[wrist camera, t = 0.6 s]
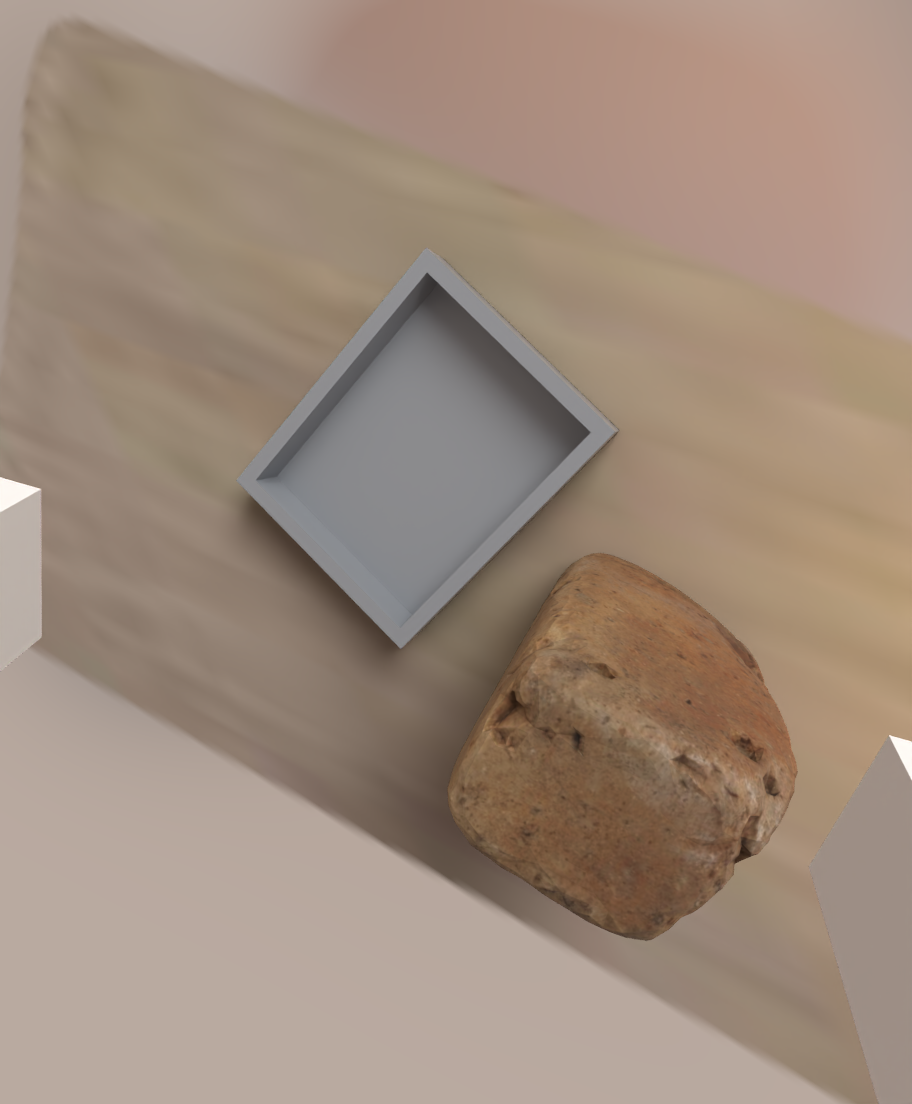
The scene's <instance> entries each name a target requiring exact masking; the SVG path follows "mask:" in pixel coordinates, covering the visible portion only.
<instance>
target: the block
mask: <svg viewBox="0 0 912 1104" xmlns="http://www.w3.org/2000/svg"><path fill="white" fill-rule="evenodd" d="M797 772H798V771H797V766H796V761H795V758H794V755H793V752H792V750H791V743H790V737H789V734H788V731H787V728H786V725H785V723H784V720H783V718H782V716H781V713H780V711H779V709H778V707H777V705H776V703H775V702H774V700H773V698H772V697H771V695H770V694H769V692H768V689H767V688H766V686H765V685H764V679H763V677H762V674H761V671H760V669H759V667H758V664H757V662H756V660H755V659H754V657H753V655H752V654H751V652H750V651H749V650H748V649H747V648H746V646H745V645H744V644H743V643H741V642H740V641H739V640H737V639H736V638H735V636H734V635H733V634H732V633H731V632H730V631H729V630H727V629H726V628H725V627H724V626H723V625H722V624H721V623H720V622H719V621H718V620H717V619H716V618H714V617H713V616H712V615H711V614H710V613H708V612H707V611H706V610H705V609H704V608H702V607H701V606H700V605H698V604H697V603H696V602H694V601H693V600H692V599H690V598H689V597H688V596H687V595H685V594H684V593H682V592H681V591H680V590H678V589H677V588H675V587H674V586H672V585H670V584H669V583H667V582H666V581H664V580H662V579H661V578H659V577H657V576H656V575H654V574H652V573H650V572H649V571H647V570H645V569H643V568H641V567H639V566H637V565H635V564H632V563H630V562H628V561H625V560H623V559H620V558H618V557H615V556H612V555H608V554H604V553H596V554H590V555H587V556H584V557H583V558H581V559H579V560H578V561H576V562H574V563H573V564H571V565H570V566H569V567H568V568H567V569H566V571H565V572H564V573H563V574H562V576H561V577H560V578H559V580H558V581H557V583H556V585H555V586H554V588H553V590H552V591H551V593H550V595H549V596H548V598H547V599H546V601H545V602H544V604H543V606H542V607H541V609H540V611H539V613H538V615H537V616H536V618H535V620H534V622H533V624H532V626H531V627H530V629H529V631H528V632H527V634H526V636H525V637H524V639H523V641H522V643H521V644H520V646H519V648H518V650H517V651H516V653H515V655H514V657H513V659H512V661H511V662H510V664H509V666H508V667H507V669H506V671H505V673H504V675H503V676H502V678H501V680H500V681H499V683H498V685H497V687H496V689H495V691H494V692H493V694H492V695H491V697H490V699H489V701H488V702H487V704H486V706H485V708H484V709H483V711H482V713H481V715H480V716H479V718H478V720H477V722H476V724H475V725H474V727H473V729H472V731H471V733H470V735H469V737H468V738H467V740H466V742H465V744H464V746H463V748H462V750H461V751H460V754H459V756H458V758H457V760H456V763H455V765H454V768H453V771H452V774H451V778H450V781H449V785H448V788H447V791H448V805H449V808H450V810H451V813H452V815H453V818H454V821H455V823H456V824H457V825H458V827H459V828H460V830H461V831H462V832H463V834H464V835H465V837H466V838H467V840H468V841H469V843H470V844H471V845H472V846H473V847H475V848H476V849H477V850H479V851H480V852H481V853H483V854H484V855H485V856H487V857H488V858H489V859H491V860H492V861H493V862H495V863H496V864H498V865H499V866H500V867H502V868H503V869H505V870H507V871H509V872H511V873H512V874H514V875H516V876H518V877H520V878H521V879H523V880H524V881H526V882H527V883H528V884H530V885H531V886H533V887H534V888H535V889H537V890H538V891H540V892H541V893H542V894H544V895H545V896H547V897H548V898H550V899H552V900H553V901H555V902H557V903H558V904H560V905H561V906H563V907H565V908H566V909H568V910H570V911H571V912H573V913H575V914H576V915H578V916H579V917H581V918H583V919H584V920H586V921H588V922H590V923H592V924H594V925H596V926H598V927H600V928H603V929H605V930H607V931H609V932H611V933H614V934H617V935H620V936H623V937H626V938H632V939H639V940H645V941H647V940H652V939H654V938H655V937H657V936H659V935H660V934H662V933H664V932H665V931H667V930H669V929H670V928H671V927H672V926H673V925H674V924H675V923H676V922H677V921H678V920H679V919H680V918H681V917H683V916H686V915H688V914H690V913H693V912H694V911H696V910H697V909H699V908H700V907H702V906H703V905H704V904H705V903H706V902H707V901H708V900H709V899H710V898H711V897H712V896H714V895H715V894H716V893H717V892H718V891H719V890H721V889H722V888H723V887H724V885H725V884H726V883H727V882H728V881H729V879H730V878H731V877H732V876H733V875H734V864H735V863H737V862H739V861H741V860H743V859H746V858H748V857H751V856H753V855H756V854H758V853H759V852H760V851H761V850H762V849H763V847H764V846H765V845H766V844H767V843H768V842H769V840H770V837H771V835H772V833H773V832H774V831H775V829H776V828H777V827H778V825H779V824H780V822H781V820H782V818H783V816H784V814H785V812H786V810H787V808H788V805H789V802H790V800H791V797H792V795H793V793H794V783H795V778H796V775H797Z"/></svg>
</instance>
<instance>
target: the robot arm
mask: <svg viewBox="0 0 912 1104" xmlns="http://www.w3.org/2000/svg"><path fill="white" fill-rule="evenodd" d="M41 637H42V595H41V489H38V488H35V487H32V486H28V485H25V484H21V483H18V482H14V481H11V480H7V479H4V478H0V671H1V670H2V669H4V668H5V667H6V666H7V665H9V664H10V663H11V662H12V661H13V660H15V659H16V658H17V657H18V656H19V655H21V654H22V653H23V652H24V651H25V650H26V649H28V648H29V647H30V646H31V645H33V644H34V643H35V642H36V641H38V640H39V639H40V638H41ZM809 869H810V872H811V876H812V879H813V883H814V886H815V889H816V893H817V896H818V900H819V903H820V906H821V910H822V913H823V917H824V920H825V923H826V927H827V930H828V934H829V937H830V940H831V944H832V947H833V951H834V954H835V958H836V961H837V964H838V968H839V971H840V975H841V978H842V981H843V985H844V988H845V992H846V995H847V998H848V1002H849V1005H850V1009H851V1012H852V1015H853V1019H854V1022H855V1026H856V1029H857V1032H858V1036H859V1039H860V1043H861V1046H862V1049H863V1053H864V1056H865V1060H866V1063H867V1067H868V1070H869V1073H870V1077H871V1080H872V1084H873V1087H874V1090H875V1094H876V1097H877V1101H878V1104H912V742H911V741H907V740H904V739H900V738H897V737H893V736H890V735H889V736H888V738H887V739H886V741H885V743H884V744H883V746H882V747H881V749H880V751H879V752H878V754H877V756H876V757H875V759H874V761H873V762H872V764H871V765H870V767H869V769H868V770H867V772H866V774H865V775H864V777H863V779H862V780H861V782H860V783H859V785H858V787H857V788H856V790H855V792H854V793H853V795H852V797H851V798H850V800H849V802H848V803H847V805H846V806H845V808H844V810H843V811H842V813H841V815H840V816H839V818H838V820H837V821H836V823H835V824H834V826H833V828H832V829H831V831H830V833H829V834H828V836H827V838H826V839H825V841H824V842H823V844H822V846H821V847H820V849H819V851H818V852H817V854H816V856H815V857H814V859H813V861H812V862H811V864H810V865H809Z"/></svg>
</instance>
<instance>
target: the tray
mask: <svg viewBox="0 0 912 1104" xmlns="http://www.w3.org/2000/svg"><path fill="white" fill-rule="evenodd" d="M618 431H619V429H618V428H617V427H616V426H615V425H614V424H613V423H611V422H610V421H609V420H608V419H607V418H606V417H605V416H604V415H603V414H602V413H601V412H600V411H599V410H598V409H597V408H596V407H595V406H594V405H593V404H592V403H591V402H590V401H589V400H588V399H587V398H586V397H585V396H584V395H583V394H582V393H581V392H580V391H579V390H578V389H577V388H576V387H575V386H574V385H572V384H571V383H570V382H569V381H568V380H567V379H566V378H565V377H564V376H563V375H562V374H561V373H560V372H559V371H558V370H557V369H556V368H555V367H554V366H553V365H552V364H551V363H550V362H549V361H548V360H547V359H546V358H545V357H544V356H543V355H542V354H541V353H540V352H539V351H538V350H537V349H536V348H535V347H533V346H532V345H531V344H530V343H529V342H528V341H527V340H526V339H525V338H524V337H523V336H522V335H521V334H520V333H519V332H518V331H517V330H516V329H515V328H514V327H513V326H512V325H511V324H510V323H509V322H508V321H507V320H506V319H505V318H504V317H503V316H502V315H501V314H500V313H499V312H498V311H497V310H496V309H494V308H493V307H492V306H491V305H490V304H489V303H488V302H487V301H486V300H485V299H484V298H483V297H482V296H481V295H480V294H479V293H478V292H477V291H476V290H475V289H474V288H473V287H472V286H471V285H470V284H469V283H468V282H467V281H466V280H465V279H464V278H463V277H462V276H461V275H460V274H459V273H458V272H457V271H455V270H454V269H453V268H452V267H451V266H450V265H449V264H448V263H447V262H446V261H445V260H444V259H443V258H442V257H440V256H438V255H437V254H435V253H434V252H432V251H431V250H429V249H428V248H426V249H425V250H424V251H423V252H422V253H421V255H420V256H419V257H418V258H417V260H416V261H415V262H414V263H413V264H412V266H411V267H410V268H409V269H408V271H407V272H406V273H405V274H404V276H403V277H402V278H401V279H400V280H399V282H398V283H397V284H396V285H395V287H394V288H393V289H392V290H391V291H390V293H389V294H388V295H387V296H386V298H385V299H384V300H383V301H382V302H381V304H380V305H379V306H378V307H377V309H376V310H375V311H374V312H373V314H372V315H371V316H370V317H369V318H368V320H367V321H366V322H365V323H364V325H363V326H362V327H361V328H360V329H359V331H358V332H357V333H356V334H355V336H354V337H353V338H352V339H351V340H350V342H349V343H348V344H347V345H346V347H345V348H344V349H343V350H342V352H341V353H340V354H339V355H338V356H337V358H336V359H335V360H334V361H333V363H332V364H331V365H330V366H329V367H328V369H327V370H326V371H325V372H324V374H323V375H322V376H321V377H320V378H319V380H318V381H317V382H316V383H315V385H314V386H313V387H312V388H311V390H310V391H309V392H308V393H307V394H306V396H305V397H304V398H303V399H302V401H301V402H300V403H299V404H298V405H297V407H296V408H295V409H294V410H293V412H292V413H291V414H290V415H289V416H288V418H287V419H286V420H285V421H284V423H283V424H282V425H281V426H280V428H279V429H278V430H277V431H276V432H275V434H274V435H273V436H272V437H271V439H270V440H269V441H268V442H267V443H266V445H265V446H264V447H263V448H262V450H261V451H260V452H259V453H258V454H257V456H256V457H255V458H254V459H253V461H252V462H251V463H250V464H249V466H248V467H247V468H246V469H245V470H244V472H243V473H242V474H241V475H240V477H239V478H238V479H237V480H236V481H237V482H238V483H239V484H240V485H241V486H242V487H243V488H244V489H245V490H246V491H247V492H248V493H249V494H250V495H251V496H252V497H253V498H254V499H255V500H256V501H257V502H258V503H259V504H260V505H261V506H262V507H263V508H264V509H265V510H266V512H267V513H268V514H269V515H270V516H271V517H272V518H273V519H274V520H275V521H276V522H277V523H278V524H279V525H280V526H281V527H282V528H283V529H284V530H285V531H286V532H287V533H288V534H289V535H290V536H291V537H292V538H293V539H294V540H295V541H296V542H297V543H298V544H299V545H300V546H301V547H302V548H303V549H304V550H305V551H306V552H307V553H308V555H309V556H310V557H311V558H312V559H313V560H314V561H315V562H316V563H317V564H318V565H319V566H320V567H321V568H322V569H323V570H324V571H325V572H326V573H327V574H328V575H329V576H330V577H331V578H332V579H333V580H334V581H335V582H336V583H337V584H338V585H339V586H340V587H341V588H342V589H343V590H344V591H345V592H346V593H347V594H348V595H349V596H350V598H351V599H352V600H353V601H354V602H355V603H356V604H357V605H358V606H359V607H360V608H361V609H362V610H363V611H364V612H365V613H366V614H367V615H368V616H369V617H370V618H371V619H372V620H373V621H374V622H375V623H376V624H377V625H378V626H379V627H380V628H381V629H382V630H383V631H384V632H385V633H386V634H387V635H388V636H389V637H390V638H391V639H392V641H393V642H394V643H395V644H396V645H397V646H398V647H399V648H400V649H402V648H403V647H404V646H405V645H406V644H407V643H408V642H409V641H411V640H412V639H413V638H414V637H415V636H416V635H417V634H419V633H420V632H421V631H422V629H423V628H424V627H425V626H426V625H427V624H428V623H429V622H430V621H431V620H432V619H433V618H434V617H435V616H436V615H437V614H438V613H439V612H440V611H441V610H442V609H443V608H444V607H445V606H446V605H447V604H448V603H449V602H450V601H451V600H452V599H453V598H454V597H455V596H456V595H457V594H458V593H459V592H460V591H461V590H462V589H463V588H464V587H465V586H466V585H467V584H468V583H469V582H470V581H471V580H472V579H473V578H474V577H475V576H476V575H477V574H478V573H479V572H480V571H481V570H482V569H483V568H484V567H485V566H486V565H487V564H488V563H489V562H490V561H491V560H492V559H493V558H494V557H495V556H496V555H497V554H498V553H499V552H500V551H501V550H502V549H503V548H504V547H505V546H506V545H507V544H508V543H509V542H510V541H511V540H512V539H513V538H514V537H515V535H516V534H517V533H518V532H519V531H520V530H521V529H522V528H523V527H524V526H525V525H526V524H527V523H528V522H529V521H530V520H531V519H532V518H533V517H534V516H535V515H536V514H537V513H538V512H539V511H540V510H541V509H542V508H543V507H544V506H545V505H546V504H547V503H548V502H549V501H550V500H551V499H552V498H553V497H554V496H555V495H556V494H557V493H558V492H559V491H560V490H561V489H562V488H563V487H564V486H565V485H566V484H567V483H568V482H569V481H570V480H571V479H572V478H573V477H574V476H575V475H576V474H577V473H578V472H579V471H580V470H581V469H582V468H583V467H584V466H585V465H586V464H587V463H588V462H589V461H590V460H591V459H592V458H593V457H594V456H595V455H596V454H597V453H598V452H599V451H600V450H601V449H602V448H603V447H604V446H605V445H606V444H607V443H608V441H609V440H610V439H611V438H612V437H613V436H614V435H615V434H616V433H617V432H618Z"/></svg>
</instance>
